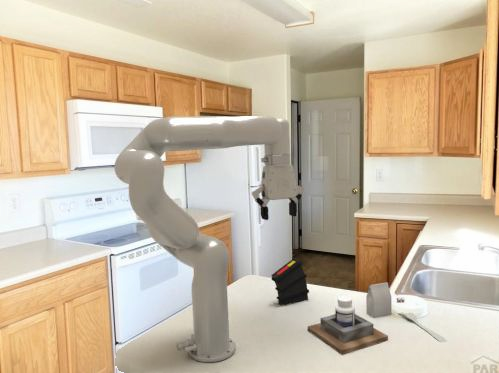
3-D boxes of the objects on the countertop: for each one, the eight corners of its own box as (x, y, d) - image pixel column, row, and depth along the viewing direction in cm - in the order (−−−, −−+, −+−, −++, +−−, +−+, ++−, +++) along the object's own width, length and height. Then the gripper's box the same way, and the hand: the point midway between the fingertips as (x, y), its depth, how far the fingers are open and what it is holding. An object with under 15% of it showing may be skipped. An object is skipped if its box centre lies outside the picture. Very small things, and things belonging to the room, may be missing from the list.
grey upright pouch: (391, 314, 127) (391, 284, 126) (373, 318, 125) (373, 287, 124) (383, 310, 131) (383, 280, 130) (366, 313, 128) (366, 283, 127)
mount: (342, 354, 104) (341, 339, 104) (307, 330, 118) (307, 316, 118) (388, 339, 111) (388, 325, 110) (350, 318, 125) (350, 305, 125)
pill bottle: (341, 325, 118) (340, 293, 117) (358, 330, 115) (357, 297, 114) (332, 332, 114) (331, 299, 113) (349, 337, 111) (349, 303, 110)
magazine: (316, 293, 143) (300, 259, 138) (288, 316, 138) (271, 281, 134) (310, 290, 146) (294, 257, 142) (282, 312, 141) (265, 278, 137)
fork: (440, 352, 108) (441, 343, 108) (394, 314, 128) (395, 306, 128) (449, 350, 109) (450, 341, 109) (402, 312, 129) (402, 305, 128)
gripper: (257, 162, 112) (259, 222, 113) (308, 159, 119) (310, 216, 121) (245, 162, 118) (248, 218, 120) (295, 159, 126) (296, 212, 128)
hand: (279, 217), depth 120 cm, fingers open, 9 cm apart
